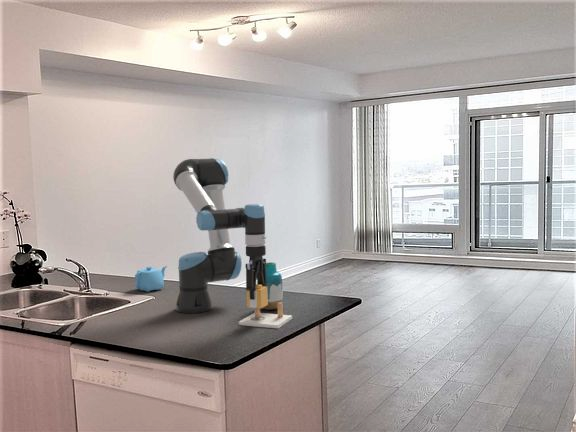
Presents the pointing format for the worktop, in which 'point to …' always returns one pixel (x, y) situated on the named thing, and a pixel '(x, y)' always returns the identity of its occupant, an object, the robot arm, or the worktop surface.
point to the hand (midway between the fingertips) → (257, 305)
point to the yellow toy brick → (259, 296)
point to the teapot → (150, 279)
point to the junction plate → (267, 318)
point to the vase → (273, 286)
